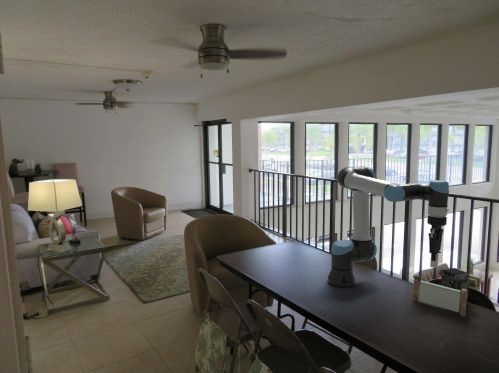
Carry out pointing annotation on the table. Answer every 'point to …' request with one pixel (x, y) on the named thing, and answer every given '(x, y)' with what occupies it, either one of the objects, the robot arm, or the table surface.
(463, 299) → the post
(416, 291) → the hinge post
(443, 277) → the camera
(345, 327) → the table surface
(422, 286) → the gate
